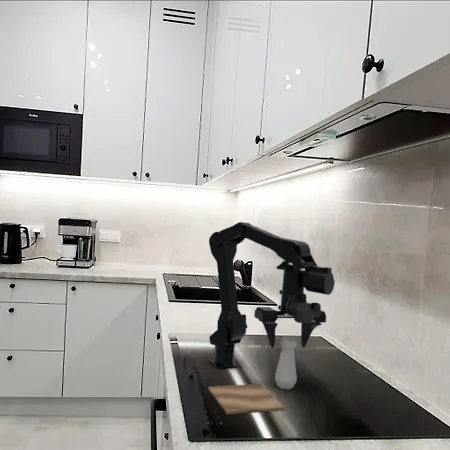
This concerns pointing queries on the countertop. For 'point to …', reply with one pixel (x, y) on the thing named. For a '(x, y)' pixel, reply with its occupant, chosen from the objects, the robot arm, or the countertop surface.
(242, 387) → the walnut board
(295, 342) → the salt shaker
